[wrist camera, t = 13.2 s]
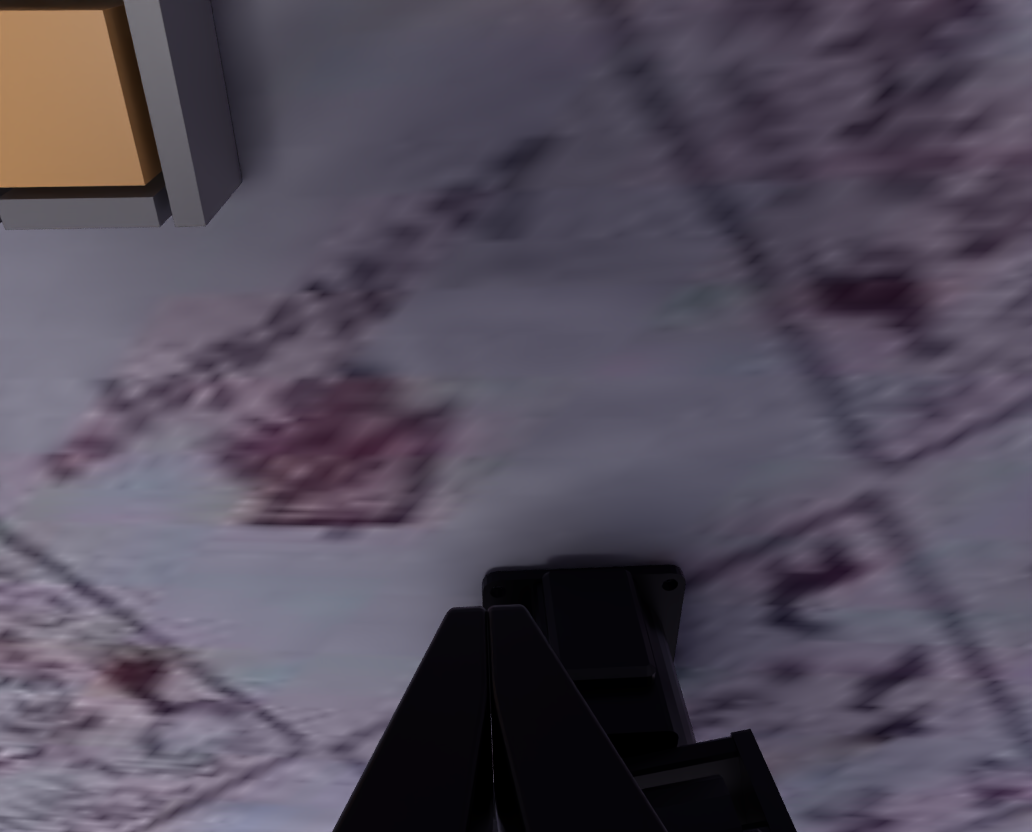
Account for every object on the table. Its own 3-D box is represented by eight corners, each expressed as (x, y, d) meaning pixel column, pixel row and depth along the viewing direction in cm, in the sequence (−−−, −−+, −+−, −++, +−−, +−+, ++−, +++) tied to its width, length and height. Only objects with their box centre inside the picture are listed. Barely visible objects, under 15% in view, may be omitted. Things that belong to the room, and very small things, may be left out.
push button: (185, 150, 18) (145, 185, 15) (45, 152, 17) (-17, 187, 15) (153, -3, 16) (102, 10, 14) (-2, -3, 16) (-79, 10, 14)
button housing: (242, 182, 19) (205, 226, 16) (31, 184, 19) (-42, 230, 16) (200, -57, 16) (148, -51, 14) (-45, -56, 16) (-148, -52, 13)
